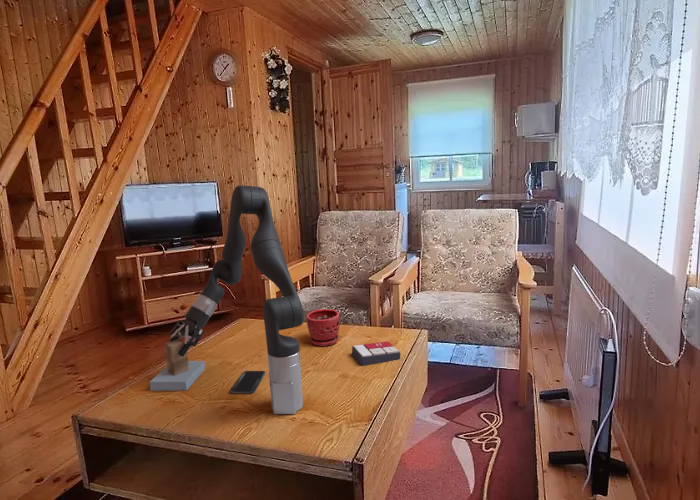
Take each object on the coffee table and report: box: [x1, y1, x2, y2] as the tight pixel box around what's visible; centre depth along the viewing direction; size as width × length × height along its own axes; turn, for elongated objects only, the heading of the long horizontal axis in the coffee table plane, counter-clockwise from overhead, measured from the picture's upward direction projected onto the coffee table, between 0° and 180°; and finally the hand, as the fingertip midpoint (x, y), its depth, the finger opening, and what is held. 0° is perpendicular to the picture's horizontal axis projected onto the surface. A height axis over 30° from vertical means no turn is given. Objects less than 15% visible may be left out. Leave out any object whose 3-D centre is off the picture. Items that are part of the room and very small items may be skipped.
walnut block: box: [164, 339, 189, 375], centre depth 153 cm, size 5×5×10 cm
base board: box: [149, 360, 206, 392], centre depth 154 cm, size 16×12×3 cm
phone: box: [229, 370, 266, 395], centre depth 150 cm, size 8×1×15 cm
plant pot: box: [306, 308, 341, 347], centre depth 182 cm, size 13×13×12 cm
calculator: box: [351, 341, 401, 367], centre depth 167 cm, size 11×4×15 cm
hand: (173, 352), depth 152 cm, fingers open, 8 cm apart
